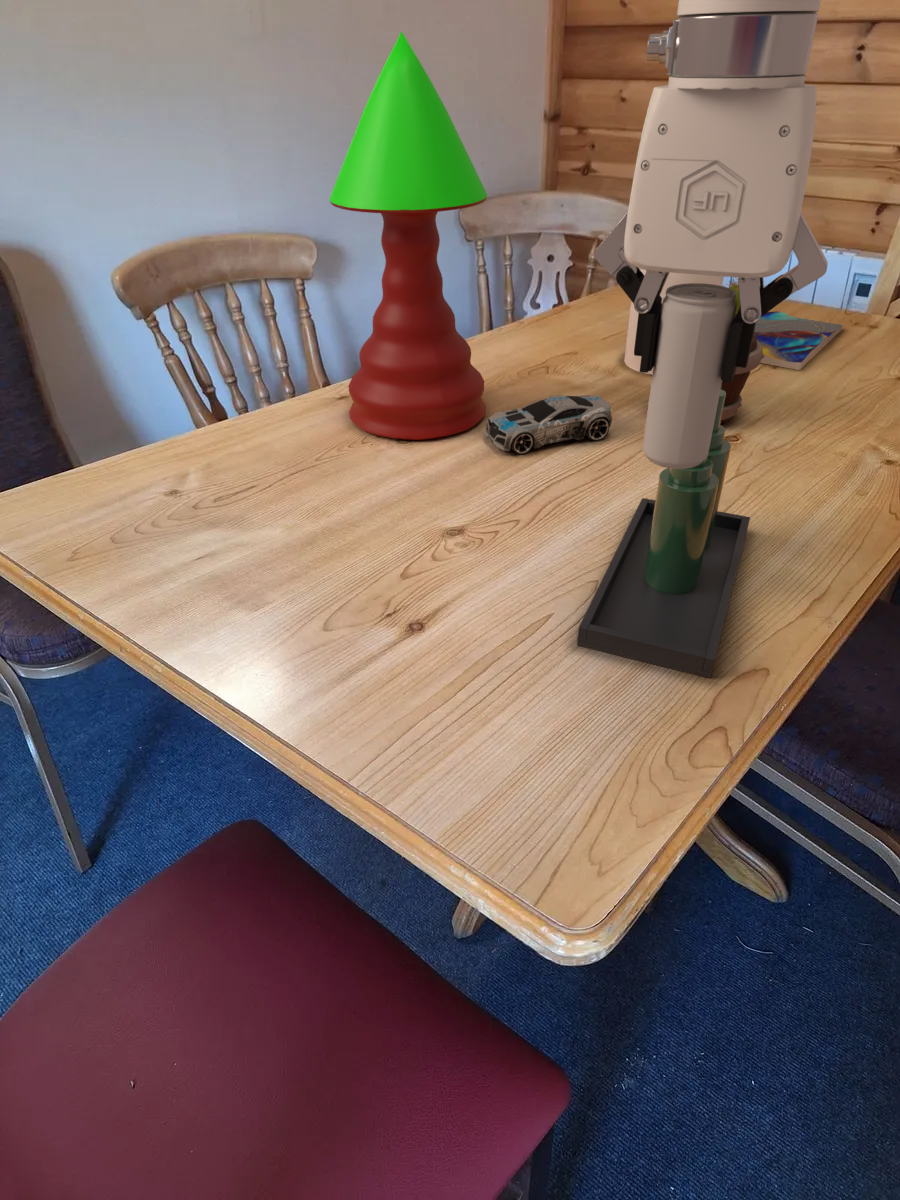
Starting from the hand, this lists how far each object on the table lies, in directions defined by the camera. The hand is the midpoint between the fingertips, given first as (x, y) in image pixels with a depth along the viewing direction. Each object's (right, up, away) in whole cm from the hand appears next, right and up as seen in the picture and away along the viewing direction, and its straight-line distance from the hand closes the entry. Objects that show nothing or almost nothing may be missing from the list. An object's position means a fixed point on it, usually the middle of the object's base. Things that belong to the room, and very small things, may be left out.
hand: (688, 368), depth 55 cm
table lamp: (-21, +11, +58) cm, 63 cm away
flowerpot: (+18, +10, +56) cm, 60 cm away
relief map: (+41, +29, +83) cm, 97 cm away
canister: (+19, +23, +75) cm, 80 cm away
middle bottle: (+5, -14, +22) cm, 26 cm away
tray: (+5, -15, +22) cm, 27 cm away
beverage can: (0, -6, +4) cm, 7 cm away
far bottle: (+8, -10, +28) cm, 30 cm away
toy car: (-4, +6, +51) cm, 51 cm away
